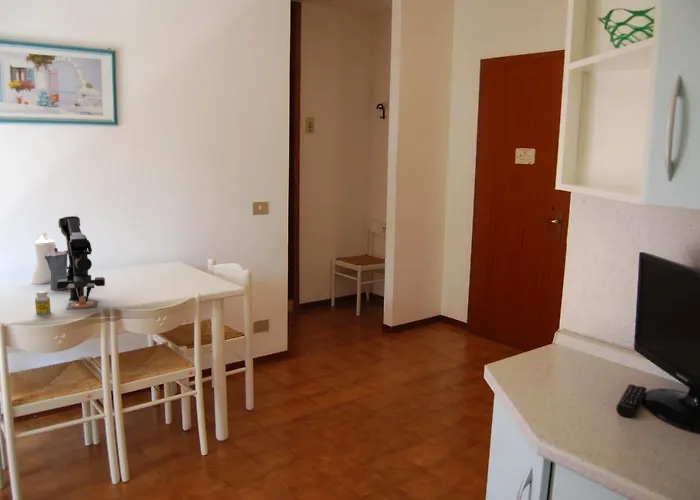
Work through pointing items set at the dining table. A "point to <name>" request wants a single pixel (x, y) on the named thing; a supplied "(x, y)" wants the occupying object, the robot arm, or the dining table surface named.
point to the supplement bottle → (42, 303)
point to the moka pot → (57, 267)
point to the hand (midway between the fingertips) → (82, 301)
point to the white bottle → (43, 260)
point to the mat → (83, 308)
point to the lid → (82, 303)
